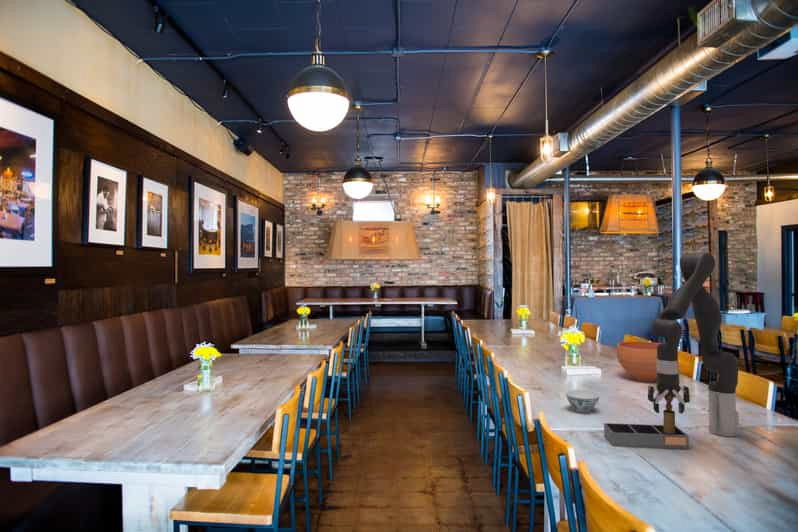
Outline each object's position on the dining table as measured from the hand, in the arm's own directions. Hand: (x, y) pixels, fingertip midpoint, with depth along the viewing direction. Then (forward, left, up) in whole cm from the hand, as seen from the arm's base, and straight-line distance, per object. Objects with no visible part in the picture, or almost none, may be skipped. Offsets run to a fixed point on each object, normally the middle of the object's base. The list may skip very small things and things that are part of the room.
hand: (668, 412), depth 180 cm
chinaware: (+24, -39, -12) cm, 47 cm away
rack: (+9, 0, -12) cm, 15 cm away
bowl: (-27, -104, -12) cm, 108 cm away
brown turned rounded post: (0, 0, -11) cm, 11 cm away
